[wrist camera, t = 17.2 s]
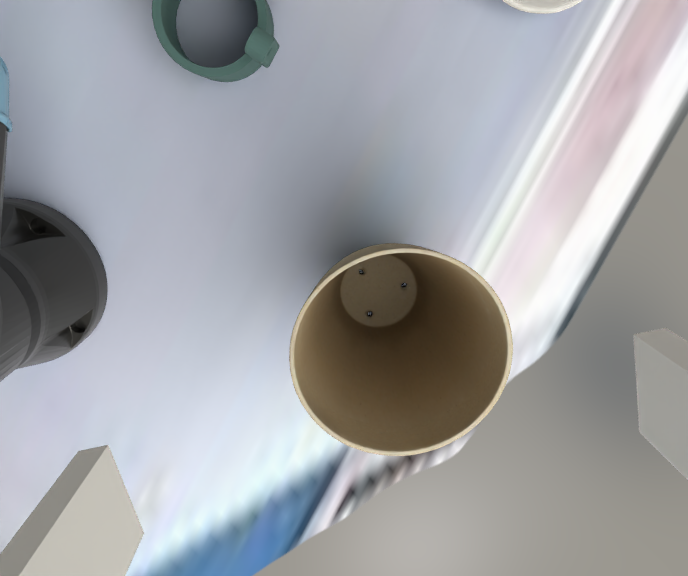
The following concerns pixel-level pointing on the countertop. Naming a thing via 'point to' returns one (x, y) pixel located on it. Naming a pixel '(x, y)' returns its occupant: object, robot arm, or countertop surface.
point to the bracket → (257, 53)
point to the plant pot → (400, 350)
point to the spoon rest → (542, 5)
